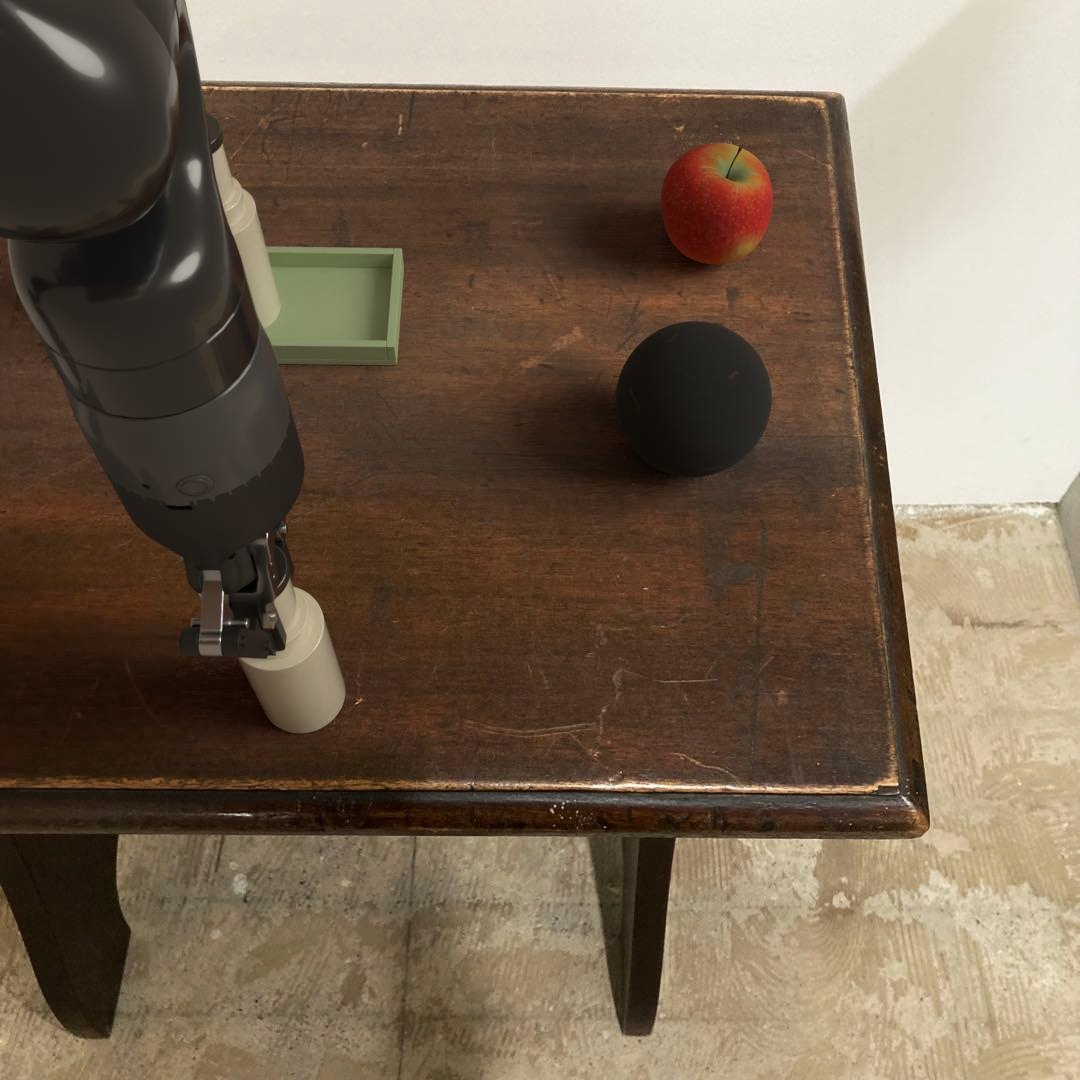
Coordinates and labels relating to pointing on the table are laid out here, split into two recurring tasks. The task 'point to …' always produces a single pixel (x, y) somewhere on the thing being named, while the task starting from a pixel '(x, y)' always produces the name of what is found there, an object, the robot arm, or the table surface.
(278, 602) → the bottle
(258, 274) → the bottle
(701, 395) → the black ball
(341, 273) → the tray
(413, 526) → the table surface
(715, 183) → the apple
